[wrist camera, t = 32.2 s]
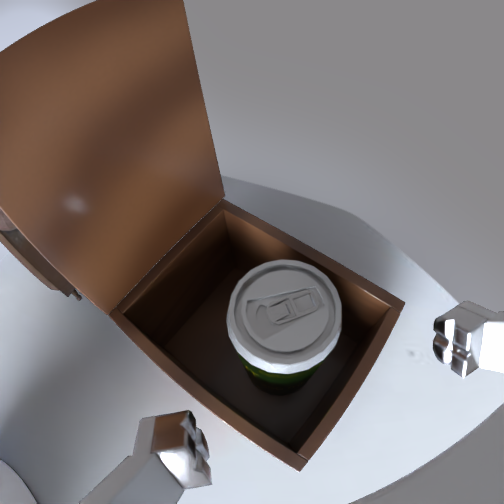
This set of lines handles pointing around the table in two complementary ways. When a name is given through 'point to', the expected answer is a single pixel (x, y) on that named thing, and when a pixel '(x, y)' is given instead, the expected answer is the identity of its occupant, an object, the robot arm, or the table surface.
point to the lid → (106, 142)
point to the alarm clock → (33, 258)
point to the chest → (221, 348)
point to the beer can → (283, 324)
